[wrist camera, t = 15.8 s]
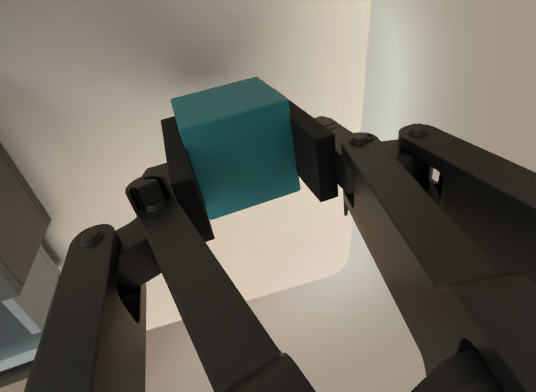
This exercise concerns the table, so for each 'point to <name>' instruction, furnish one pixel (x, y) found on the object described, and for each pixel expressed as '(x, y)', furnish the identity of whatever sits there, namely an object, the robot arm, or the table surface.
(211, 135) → the cube
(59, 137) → the table surface
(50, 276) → the drawer
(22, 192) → the grey drawer cabinet
